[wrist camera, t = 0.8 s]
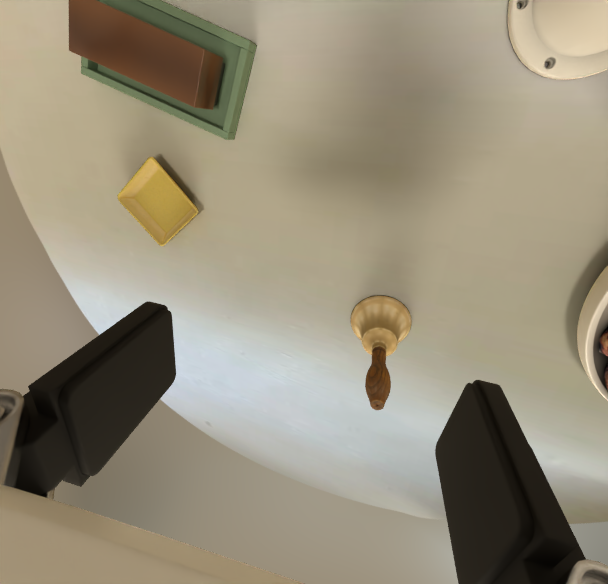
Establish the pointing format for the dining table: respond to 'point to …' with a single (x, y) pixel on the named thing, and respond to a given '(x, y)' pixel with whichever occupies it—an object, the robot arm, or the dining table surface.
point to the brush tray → (234, 49)
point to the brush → (145, 53)
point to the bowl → (595, 334)
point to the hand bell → (380, 340)
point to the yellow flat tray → (157, 202)
